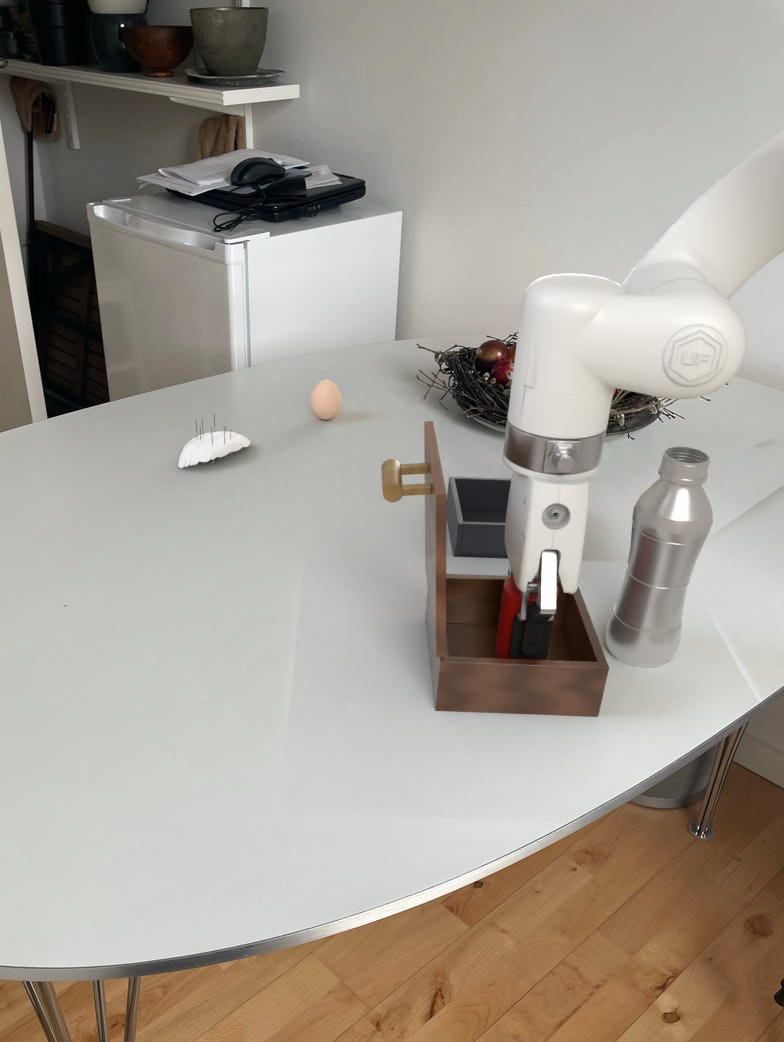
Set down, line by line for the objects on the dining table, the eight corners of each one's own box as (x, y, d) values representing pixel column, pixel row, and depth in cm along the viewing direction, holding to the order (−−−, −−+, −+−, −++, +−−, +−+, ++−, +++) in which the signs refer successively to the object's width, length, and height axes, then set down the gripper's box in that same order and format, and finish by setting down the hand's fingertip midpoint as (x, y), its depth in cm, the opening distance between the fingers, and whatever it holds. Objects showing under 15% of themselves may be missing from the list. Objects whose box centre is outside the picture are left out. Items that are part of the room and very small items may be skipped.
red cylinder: (540, 649, 89) (553, 573, 84) (549, 679, 85) (563, 601, 81) (490, 648, 89) (500, 572, 85) (496, 677, 85) (507, 599, 81)
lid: (433, 420, 82) (379, 423, 83) (446, 493, 70) (383, 496, 71) (434, 568, 90) (384, 570, 91) (445, 656, 78) (388, 659, 79)
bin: (549, 514, 114) (554, 479, 112) (567, 564, 104) (574, 527, 102) (445, 511, 115) (449, 476, 112) (454, 561, 105) (458, 523, 102)
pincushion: (234, 439, 133) (233, 399, 130) (264, 451, 129) (264, 410, 126) (165, 463, 126) (162, 421, 123) (195, 477, 122) (193, 434, 119)
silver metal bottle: (652, 635, 93) (702, 437, 82) (687, 675, 87) (746, 469, 76) (588, 640, 92) (630, 441, 81) (620, 682, 86) (670, 474, 75)
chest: (565, 629, 93) (575, 577, 90) (596, 724, 81) (609, 667, 78) (424, 625, 94) (429, 572, 91) (434, 718, 82) (440, 661, 78)
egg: (303, 418, 140) (303, 379, 137) (325, 411, 142) (326, 373, 139) (324, 427, 137) (325, 387, 134) (347, 419, 140) (348, 380, 136)
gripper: (627, 491, 68) (584, 698, 78) (580, 407, 82) (549, 592, 92) (519, 488, 69) (491, 695, 79) (492, 405, 83) (470, 589, 93)
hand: (523, 637), depth 85 cm, fingers closed on red cylinder, 4 cm apart
